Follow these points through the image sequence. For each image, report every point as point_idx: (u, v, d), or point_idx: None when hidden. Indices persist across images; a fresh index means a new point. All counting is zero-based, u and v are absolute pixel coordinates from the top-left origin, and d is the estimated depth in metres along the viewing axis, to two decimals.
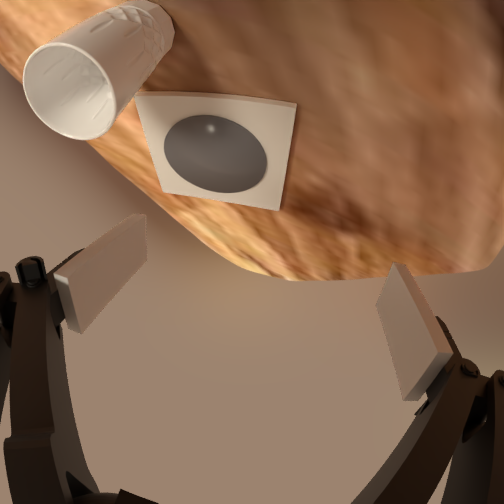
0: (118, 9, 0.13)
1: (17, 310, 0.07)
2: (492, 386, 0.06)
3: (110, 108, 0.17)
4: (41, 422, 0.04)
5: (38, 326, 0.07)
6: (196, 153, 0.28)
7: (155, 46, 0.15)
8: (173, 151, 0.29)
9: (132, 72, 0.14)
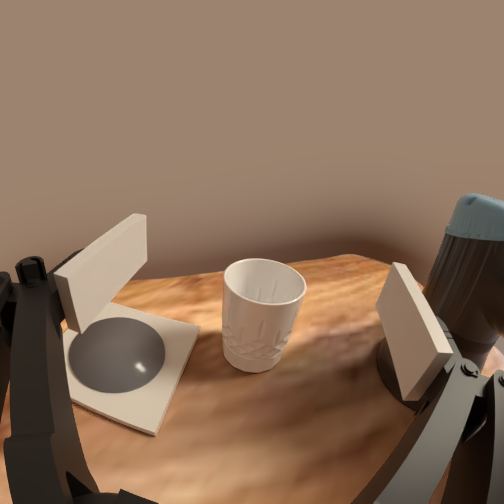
0: (287, 340, 0.29)
1: (17, 310, 0.07)
2: (492, 386, 0.06)
3: None
4: (41, 422, 0.04)
5: (38, 326, 0.07)
6: (126, 341, 0.29)
7: (252, 349, 0.27)
8: (135, 326, 0.31)
9: (254, 323, 0.25)
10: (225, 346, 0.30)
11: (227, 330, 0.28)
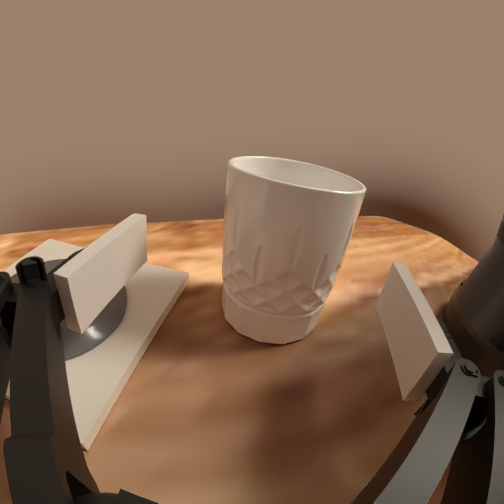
0: (332, 285, 0.18)
1: (17, 310, 0.07)
2: (492, 386, 0.06)
3: None
4: (41, 422, 0.04)
5: (38, 326, 0.07)
6: None
7: (275, 295, 0.15)
8: None
9: (284, 232, 0.14)
10: (227, 297, 0.18)
11: (231, 261, 0.16)
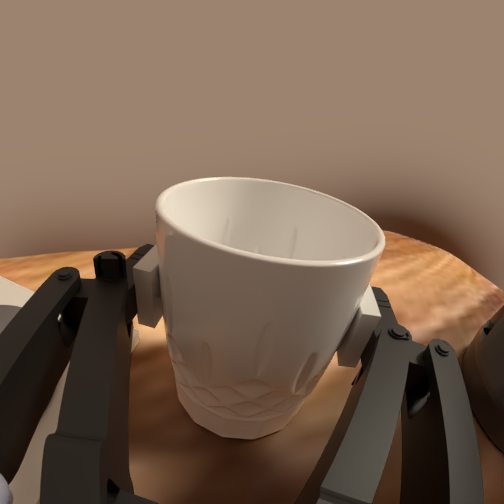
0: None
1: (88, 303, 0.08)
2: (429, 357, 0.08)
3: None
4: (93, 425, 0.05)
5: (109, 325, 0.07)
6: None
7: (235, 400, 0.09)
8: None
9: (240, 331, 0.08)
10: (176, 380, 0.12)
11: (172, 346, 0.10)
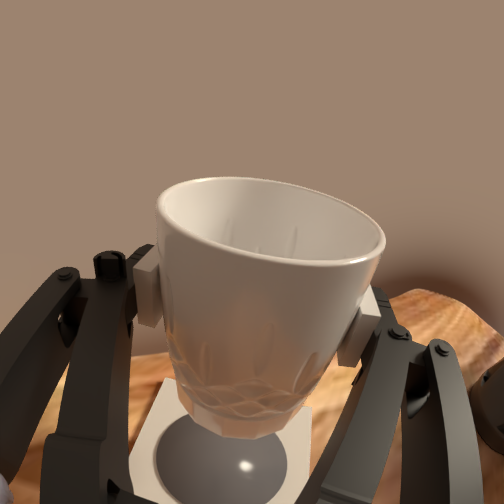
0: None
1: (88, 303, 0.08)
2: (430, 357, 0.08)
3: None
4: (93, 425, 0.05)
5: (109, 325, 0.07)
6: (232, 443, 0.21)
7: (236, 400, 0.09)
8: None
9: (241, 331, 0.08)
10: (176, 380, 0.12)
11: (172, 346, 0.10)
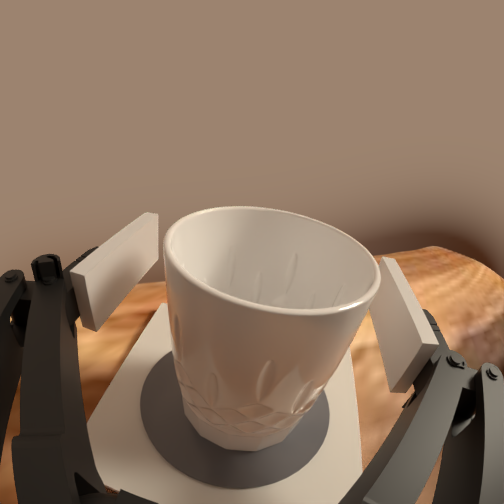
0: None
1: (31, 307, 0.07)
2: (480, 379, 0.07)
3: None
4: (51, 422, 0.04)
5: (52, 325, 0.07)
6: None
7: (239, 420, 0.10)
8: None
9: (244, 366, 0.08)
10: (183, 398, 0.13)
11: (180, 370, 0.11)
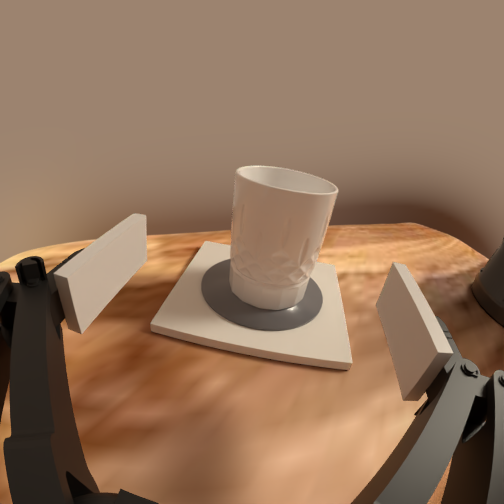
0: (314, 264, 0.23)
1: (17, 310, 0.07)
2: (492, 386, 0.06)
3: None
4: (41, 422, 0.04)
5: (38, 326, 0.07)
6: None
7: (271, 269, 0.21)
8: None
9: (277, 222, 0.19)
10: (234, 273, 0.24)
11: (238, 245, 0.22)
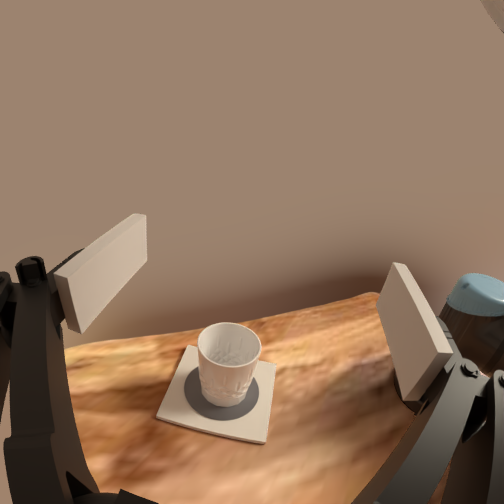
0: (249, 385, 0.36)
1: (17, 310, 0.07)
2: (492, 386, 0.06)
3: None
4: (41, 422, 0.04)
5: (38, 327, 0.07)
6: None
7: (220, 393, 0.34)
8: None
9: (219, 377, 0.32)
10: (202, 387, 0.37)
11: (202, 377, 0.35)
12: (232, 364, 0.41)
